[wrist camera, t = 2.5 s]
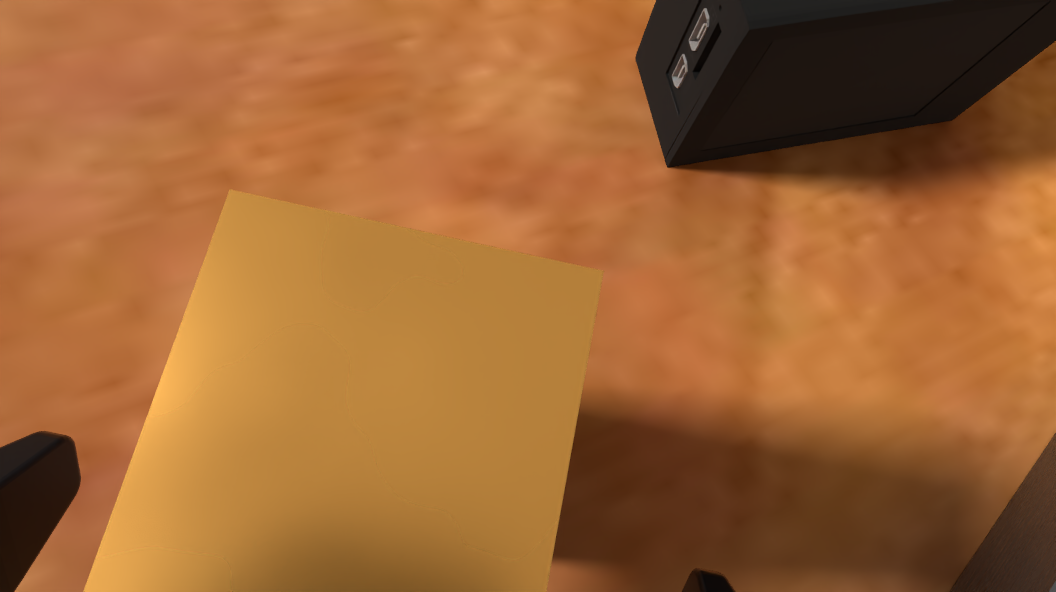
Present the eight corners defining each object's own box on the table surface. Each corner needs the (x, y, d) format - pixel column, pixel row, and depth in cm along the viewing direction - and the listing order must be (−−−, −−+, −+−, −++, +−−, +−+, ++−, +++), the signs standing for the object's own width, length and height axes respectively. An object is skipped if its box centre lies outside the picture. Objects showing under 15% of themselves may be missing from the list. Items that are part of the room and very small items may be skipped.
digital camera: (898, -11, 24) (1059, -201, 18) (953, 121, 23) (1151, -31, 16) (623, 26, 23) (685, -164, 16) (665, 168, 22) (751, 24, 15)
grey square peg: (492, 554, 18) (528, 690, 6) (345, 523, 18) (81, 597, 6) (522, 406, 19) (604, 270, 7) (385, 377, 19) (230, 189, 7)
